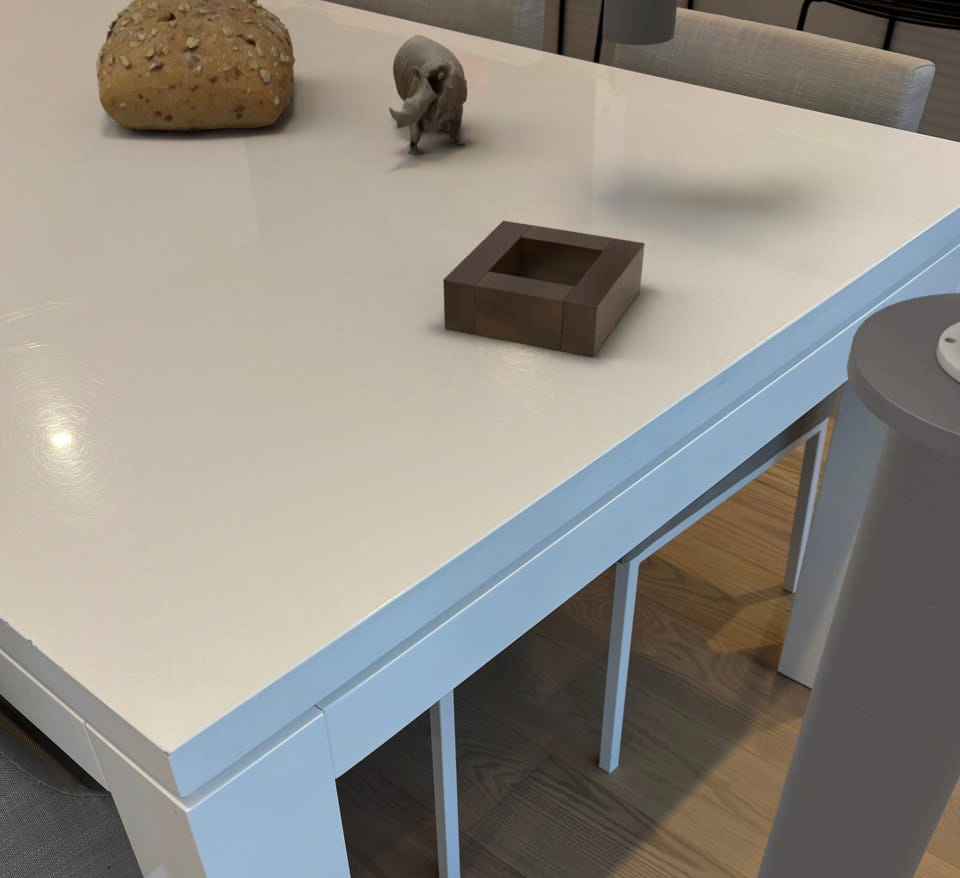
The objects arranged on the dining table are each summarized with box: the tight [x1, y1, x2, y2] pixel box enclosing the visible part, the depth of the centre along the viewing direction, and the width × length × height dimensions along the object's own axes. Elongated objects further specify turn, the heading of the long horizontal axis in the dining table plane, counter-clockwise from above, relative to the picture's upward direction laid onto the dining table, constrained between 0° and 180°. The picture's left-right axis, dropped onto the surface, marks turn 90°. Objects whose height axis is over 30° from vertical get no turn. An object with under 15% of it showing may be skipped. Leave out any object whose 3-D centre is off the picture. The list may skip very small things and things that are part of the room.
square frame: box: [442, 220, 645, 358], centre depth 85 cm, size 12×12×4 cm
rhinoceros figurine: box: [388, 34, 468, 156], centre depth 113 cm, size 8×14×15 cm
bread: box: [95, 0, 296, 132], centre depth 121 cm, size 24×21×12 cm
